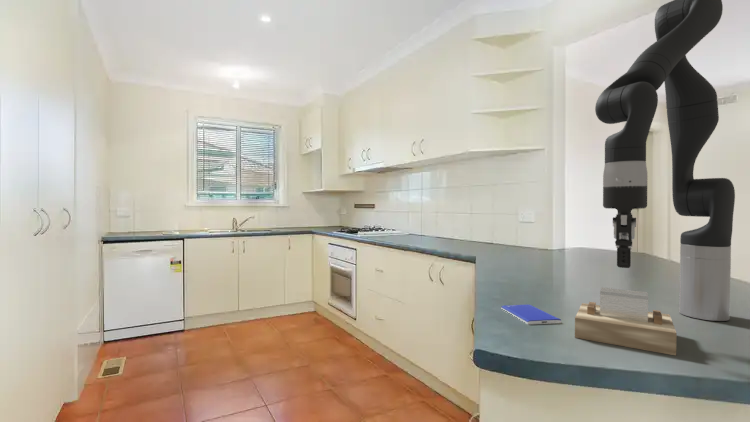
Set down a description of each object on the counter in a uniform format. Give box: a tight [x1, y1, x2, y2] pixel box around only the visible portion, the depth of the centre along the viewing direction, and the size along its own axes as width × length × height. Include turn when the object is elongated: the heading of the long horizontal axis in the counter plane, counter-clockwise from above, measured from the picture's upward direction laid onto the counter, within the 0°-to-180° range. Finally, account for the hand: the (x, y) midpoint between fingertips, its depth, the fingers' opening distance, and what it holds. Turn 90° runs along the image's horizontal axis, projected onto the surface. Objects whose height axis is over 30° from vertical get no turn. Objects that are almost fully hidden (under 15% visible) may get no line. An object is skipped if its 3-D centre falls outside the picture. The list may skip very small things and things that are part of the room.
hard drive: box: [500, 304, 562, 325], centre depth 91 cm, size 2×8×12 cm
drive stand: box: [574, 301, 678, 356], centre depth 77 cm, size 14×16×6 cm
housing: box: [599, 286, 649, 322], centre depth 77 cm, size 8×4×5 cm, turn 55°
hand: (624, 264), depth 77 cm, fingers open, 8 cm apart
